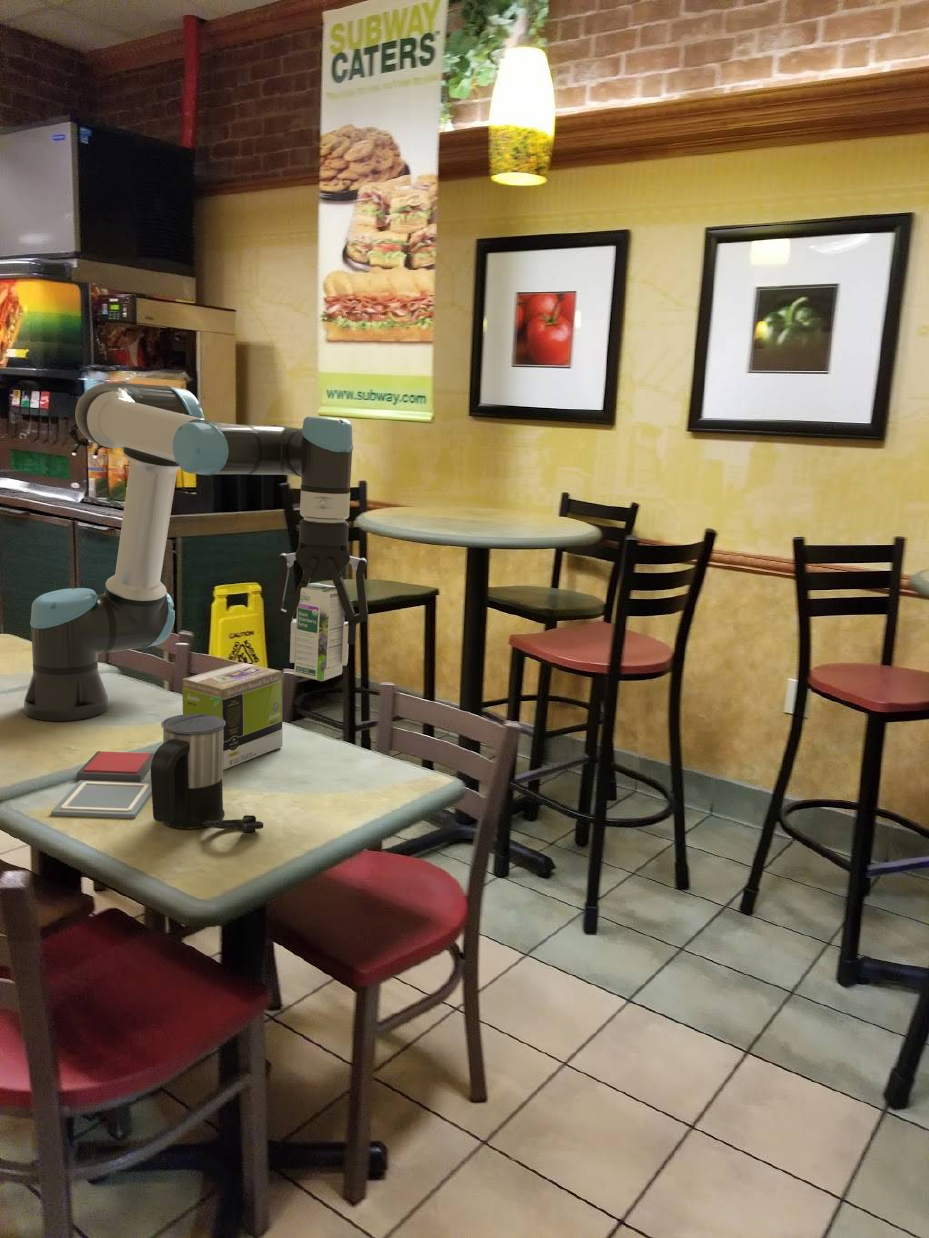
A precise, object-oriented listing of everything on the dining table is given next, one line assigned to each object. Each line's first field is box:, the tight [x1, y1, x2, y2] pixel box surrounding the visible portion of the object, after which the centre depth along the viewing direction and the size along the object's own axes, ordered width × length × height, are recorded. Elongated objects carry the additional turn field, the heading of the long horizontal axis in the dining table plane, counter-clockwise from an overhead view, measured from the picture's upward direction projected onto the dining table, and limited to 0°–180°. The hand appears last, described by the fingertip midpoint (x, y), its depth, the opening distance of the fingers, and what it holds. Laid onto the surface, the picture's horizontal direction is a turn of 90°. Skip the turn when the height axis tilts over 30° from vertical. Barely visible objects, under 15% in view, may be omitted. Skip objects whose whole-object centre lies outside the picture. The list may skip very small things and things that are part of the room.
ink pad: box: [76, 750, 155, 783], centre depth 154 cm, size 10×10×2 cm
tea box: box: [181, 661, 283, 771], centre depth 163 cm, size 15×10×15 cm, turn 149°
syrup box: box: [293, 582, 346, 682], centre depth 147 cm, size 6×6×14 cm
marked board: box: [50, 780, 152, 819], centre depth 142 cm, size 12×12×1 cm
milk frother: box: [150, 714, 264, 835], centre depth 134 cm, size 14×16×15 cm
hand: (318, 661), depth 148 cm, fingers closed on syrup box, 7 cm apart
